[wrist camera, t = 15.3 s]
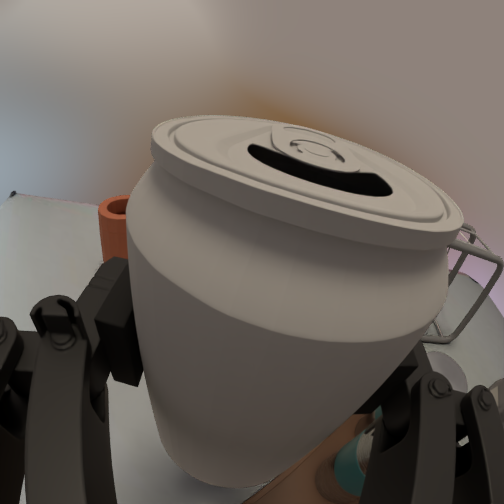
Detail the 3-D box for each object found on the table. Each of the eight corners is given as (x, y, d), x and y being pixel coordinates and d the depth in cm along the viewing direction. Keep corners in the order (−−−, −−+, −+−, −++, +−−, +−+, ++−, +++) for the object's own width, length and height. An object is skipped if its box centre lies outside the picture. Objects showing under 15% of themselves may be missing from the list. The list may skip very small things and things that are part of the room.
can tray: (420, 432, 25) (429, 425, 24) (263, 606, 8) (268, 610, 7) (364, 388, 31) (371, 380, 30) (181, 540, 14) (180, 542, 13)
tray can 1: (378, 473, 21) (456, 426, 14) (345, 514, 17) (427, 488, 10) (339, 442, 24) (403, 386, 18) (301, 480, 20) (364, 442, 14)
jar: (158, 278, 41) (158, 211, 35) (115, 293, 37) (107, 224, 31) (139, 254, 45) (137, 191, 39) (100, 266, 40) (92, 201, 34)
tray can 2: (406, 431, 25) (473, 374, 19) (383, 467, 21) (459, 418, 15) (371, 403, 29) (429, 340, 22) (344, 437, 25) (407, 379, 18)
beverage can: (147, 476, 8) (18, 172, 2) (174, 360, 14) (187, 101, 7) (299, 493, 9) (549, 279, 2) (295, 378, 14) (397, 149, 8)
